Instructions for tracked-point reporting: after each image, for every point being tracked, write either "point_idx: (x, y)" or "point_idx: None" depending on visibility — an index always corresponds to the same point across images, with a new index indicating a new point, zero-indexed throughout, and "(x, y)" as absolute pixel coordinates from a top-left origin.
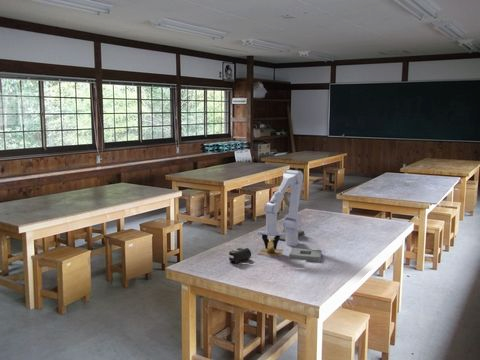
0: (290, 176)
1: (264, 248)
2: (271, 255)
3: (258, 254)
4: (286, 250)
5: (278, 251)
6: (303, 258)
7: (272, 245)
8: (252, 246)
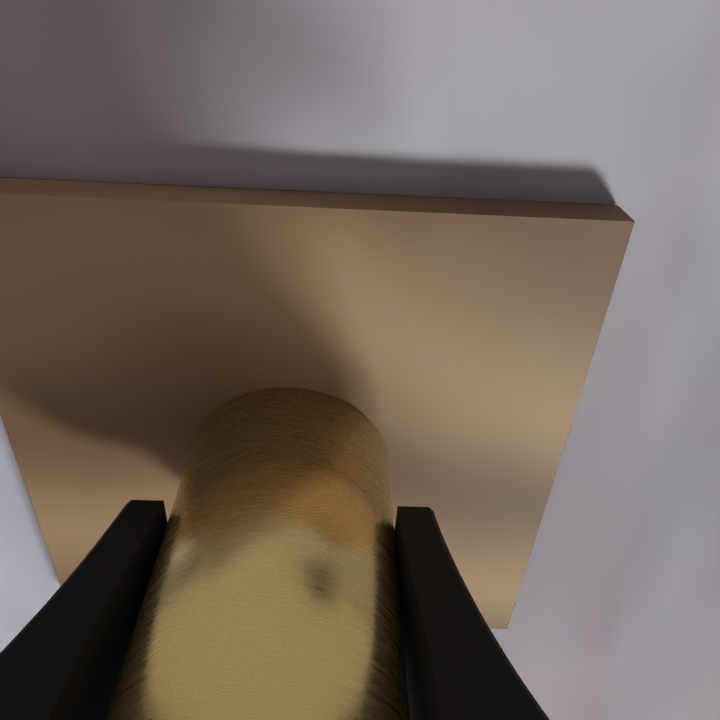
0: None
1: None
2: (210, 224)
3: (617, 234)
4: None
5: None
6: None
7: (187, 582)
8: (670, 680)
